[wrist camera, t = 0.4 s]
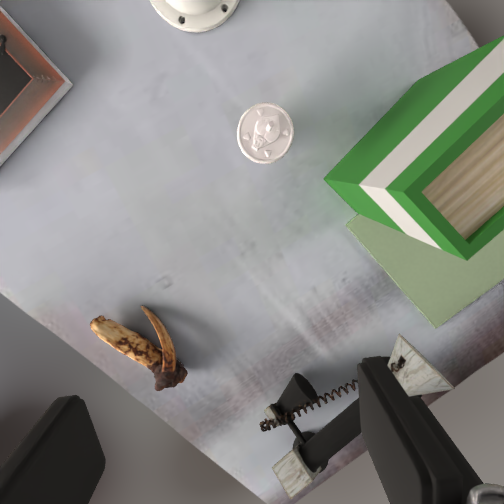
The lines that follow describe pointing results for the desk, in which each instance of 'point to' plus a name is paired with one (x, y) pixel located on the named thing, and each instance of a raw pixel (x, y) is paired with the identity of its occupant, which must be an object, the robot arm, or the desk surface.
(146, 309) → the bone fish hook
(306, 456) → the telephone
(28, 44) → the picture frame
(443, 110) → the hardback book
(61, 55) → the desk surface
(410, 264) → the desk mat
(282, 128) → the smoothie
